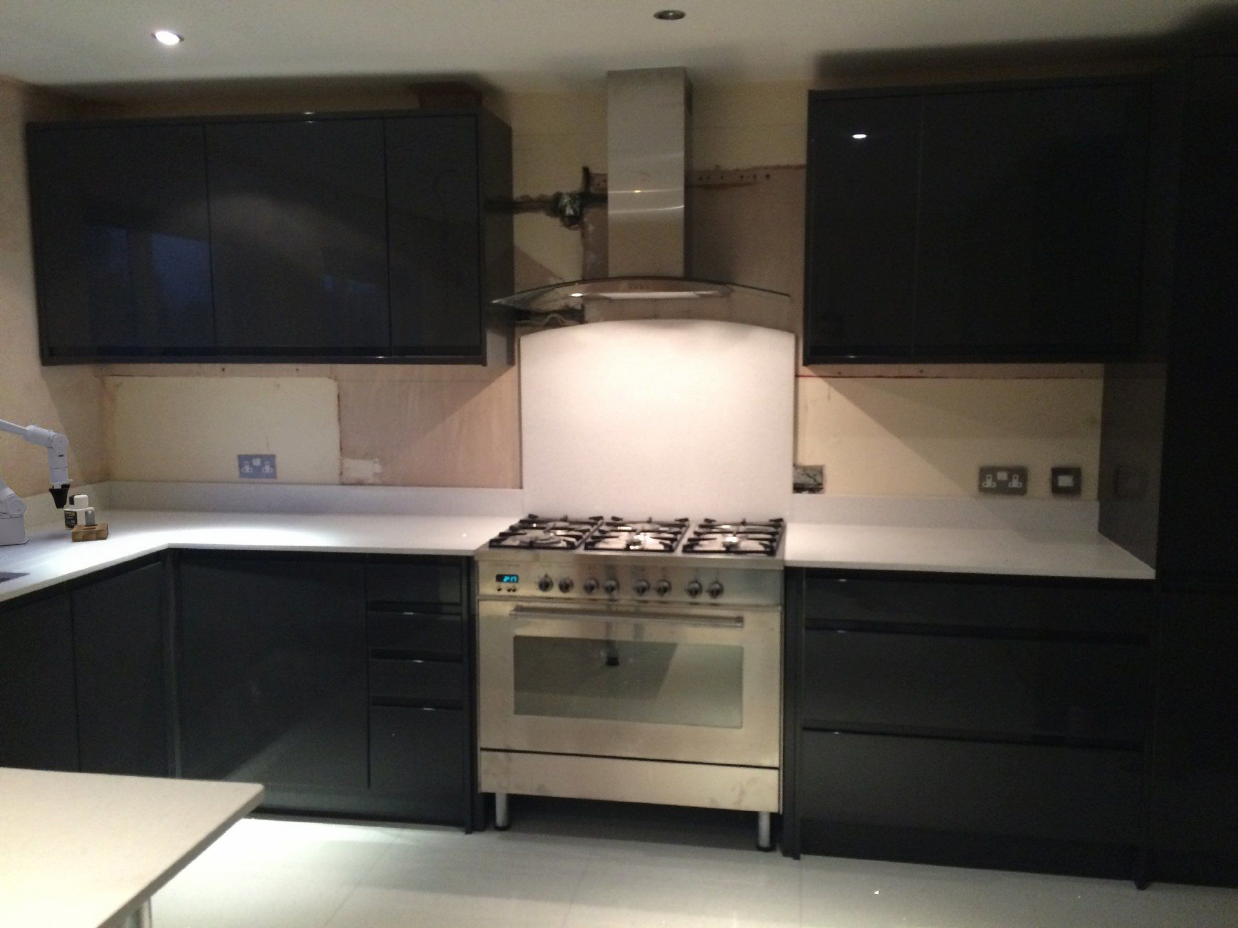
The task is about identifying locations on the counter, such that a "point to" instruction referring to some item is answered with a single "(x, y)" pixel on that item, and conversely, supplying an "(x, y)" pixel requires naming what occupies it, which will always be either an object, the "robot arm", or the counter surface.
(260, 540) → the counter surface
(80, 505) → the medicine bottle
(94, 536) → the hole block
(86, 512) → the steel pin
